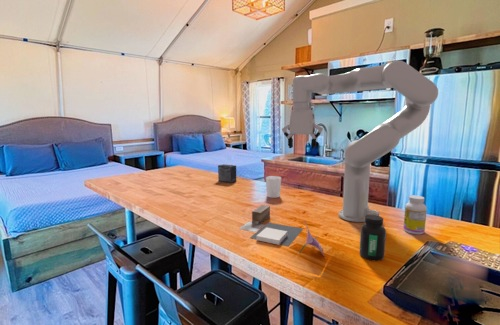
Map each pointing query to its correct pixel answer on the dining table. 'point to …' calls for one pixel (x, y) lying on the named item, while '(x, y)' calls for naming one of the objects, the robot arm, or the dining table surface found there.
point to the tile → (272, 236)
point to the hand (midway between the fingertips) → (301, 148)
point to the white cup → (273, 186)
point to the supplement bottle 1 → (373, 238)
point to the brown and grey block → (257, 218)
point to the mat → (291, 231)
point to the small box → (227, 173)
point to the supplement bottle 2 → (415, 215)
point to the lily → (312, 241)
